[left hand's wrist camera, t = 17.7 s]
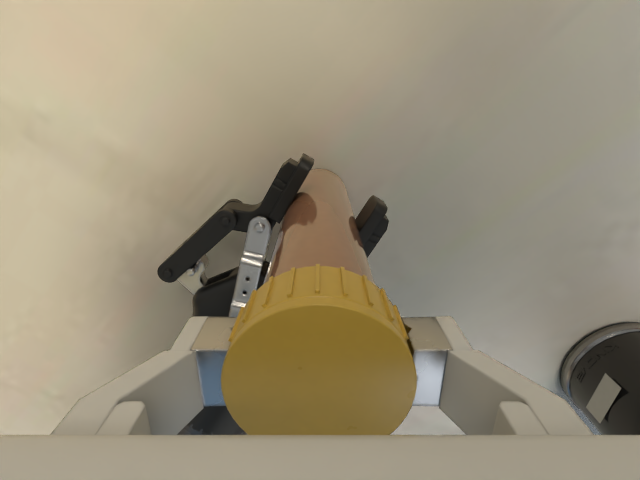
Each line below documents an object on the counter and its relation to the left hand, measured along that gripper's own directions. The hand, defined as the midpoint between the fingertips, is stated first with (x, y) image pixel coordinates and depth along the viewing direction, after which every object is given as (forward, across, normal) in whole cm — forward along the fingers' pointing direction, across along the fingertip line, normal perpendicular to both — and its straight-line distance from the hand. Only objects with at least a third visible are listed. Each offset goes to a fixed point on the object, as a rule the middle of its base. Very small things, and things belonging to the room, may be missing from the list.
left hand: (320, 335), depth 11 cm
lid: (-2, 0, 0) cm, 2 cm away
